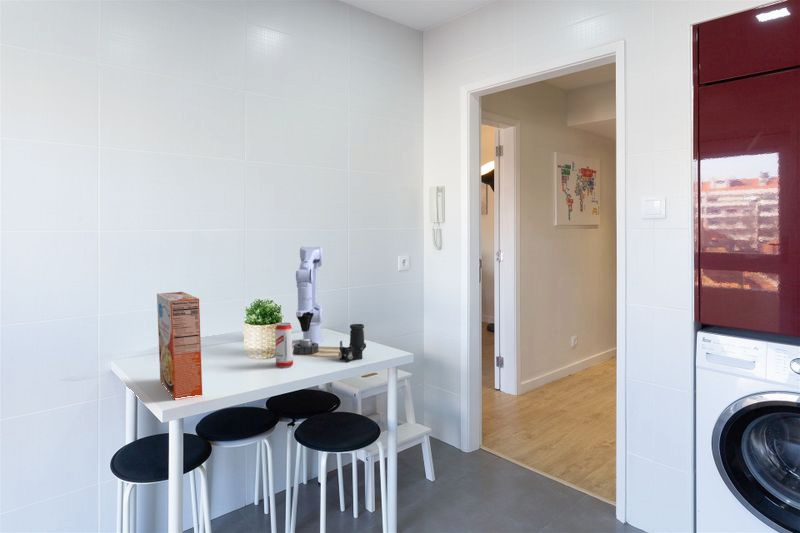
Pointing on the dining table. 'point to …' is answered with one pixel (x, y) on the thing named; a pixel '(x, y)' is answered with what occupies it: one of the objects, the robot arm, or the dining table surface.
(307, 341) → the grey domed cylinder
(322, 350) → the tan wooden board
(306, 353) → the segmented dark ring
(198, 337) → the cereal box
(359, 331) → the scope
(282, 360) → the beer can
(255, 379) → the dining table surface
